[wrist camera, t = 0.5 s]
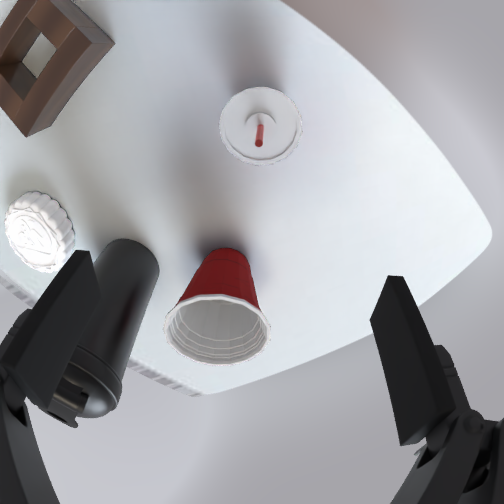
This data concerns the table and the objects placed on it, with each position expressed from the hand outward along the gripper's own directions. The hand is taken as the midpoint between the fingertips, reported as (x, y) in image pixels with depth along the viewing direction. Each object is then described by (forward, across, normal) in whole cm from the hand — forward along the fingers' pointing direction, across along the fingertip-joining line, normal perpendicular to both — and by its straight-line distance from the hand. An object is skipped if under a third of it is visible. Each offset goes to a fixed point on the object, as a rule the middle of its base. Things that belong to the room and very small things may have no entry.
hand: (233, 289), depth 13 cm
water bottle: (+22, -16, -17) cm, 32 cm away
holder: (+22, -24, +12) cm, 35 cm away
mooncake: (+22, -30, -12) cm, 39 cm away
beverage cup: (+22, 0, +4) cm, 22 cm away
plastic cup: (+22, -2, -15) cm, 27 cm away
